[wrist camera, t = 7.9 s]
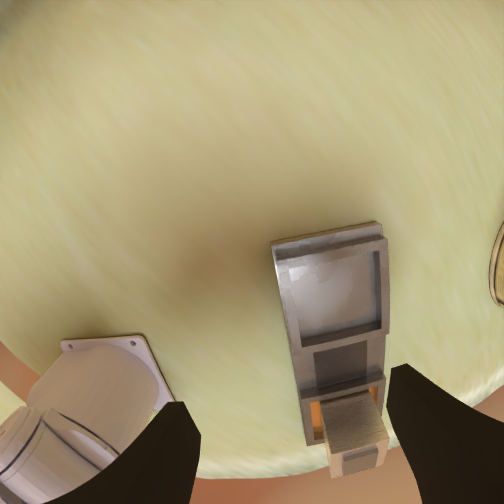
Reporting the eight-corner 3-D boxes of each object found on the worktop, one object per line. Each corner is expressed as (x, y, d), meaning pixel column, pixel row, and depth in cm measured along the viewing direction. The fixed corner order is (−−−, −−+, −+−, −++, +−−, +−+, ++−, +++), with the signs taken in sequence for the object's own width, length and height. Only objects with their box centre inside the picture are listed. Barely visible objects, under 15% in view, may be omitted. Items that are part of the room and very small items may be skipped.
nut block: (320, 424, 21) (332, 482, 14) (318, 395, 20) (332, 459, 13) (364, 413, 20) (384, 468, 14) (366, 383, 19) (391, 442, 13)
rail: (305, 438, 23) (307, 453, 21) (270, 241, 18) (271, 250, 16) (374, 422, 22) (379, 436, 20) (375, 221, 17) (388, 227, 15)
